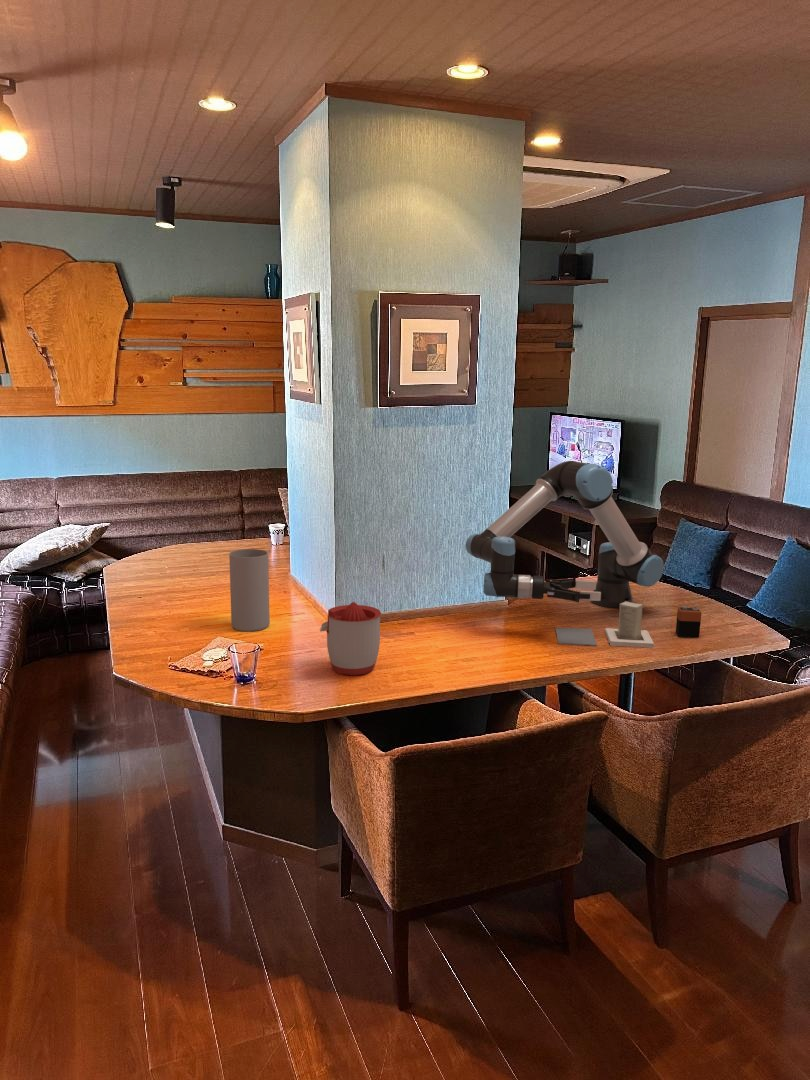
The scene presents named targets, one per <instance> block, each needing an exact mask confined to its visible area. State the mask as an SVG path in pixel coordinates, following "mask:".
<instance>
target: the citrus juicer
mask: <svg viewBox="0 0 810 1080" xmlns="http://www.w3.org/2000/svg"><path fill="white" fill-rule="evenodd" d="M381 615H382V612H381V610H380V609H379V608H377V607H374V606H370V605H363V604H358V603H357V602H356V601H354V602H353V601H352V602H350V603H349V604H346V605H338V606H333V607H330V608H329V609H328V611H327V621H325V622H323V623H322V624H321V626H320V628H319V632H325V631H326V642H327V643H326V647H327V653H328V658H329V660H330V665H331V668H332V669H333V671H335V672H336V673H338V674H339V675H347V676H349V675H351V676H358V675H359V676H360V675H365V674H368V673H370V672H372V671H373V670H374V668H375V667H376V663H377V659H378V657H379V650H380V643H381V636H380V635H381Z"/></svg>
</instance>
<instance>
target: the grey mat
mask: <svg viewBox="0 0 810 1080" xmlns="http://www.w3.org/2000/svg"><path fill="white" fill-rule="evenodd" d="M554 630H555V633H556V634H557V635H556V634H555V635H556V638H557V644H558V645H563V644H569V645H568V646H581V645H590V646H589V647H597V646H598V645H597V644H598V643H597V640H596V637H595V634H594V632H593V629H592V628H578V627H558V626H557V627H555V628H554Z"/></svg>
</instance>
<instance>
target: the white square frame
mask: <svg viewBox="0 0 810 1080" xmlns="http://www.w3.org/2000/svg"><path fill="white" fill-rule="evenodd" d="M604 629H605V630H604V633H605V635H606V638H608V639H607V641H608V644H609V643H610V644H609V645H610V647H623V646H631V647H630V648H642V647H644V648H645V649H654V648H655V642H654V641H653V639H652V637H651V635H650V634H649V631H648V630H645V629H641V640H624V639H618V636H617V635H618V629H619V628H611V627H605V628H604ZM644 648H643V649H644Z"/></svg>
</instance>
